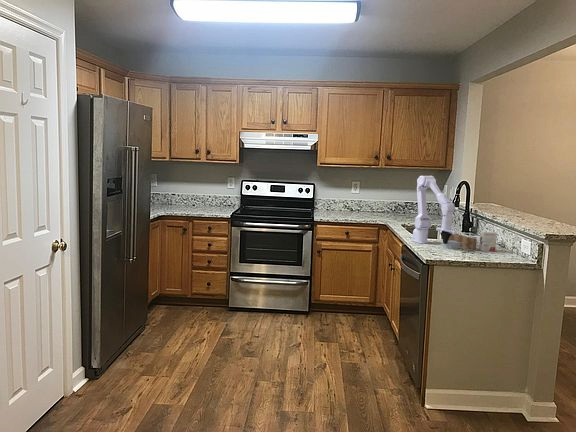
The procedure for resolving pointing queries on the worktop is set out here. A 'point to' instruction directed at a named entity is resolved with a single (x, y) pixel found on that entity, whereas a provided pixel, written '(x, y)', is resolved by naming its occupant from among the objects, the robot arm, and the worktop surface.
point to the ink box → (487, 241)
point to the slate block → (451, 245)
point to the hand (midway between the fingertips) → (445, 243)
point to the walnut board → (464, 241)
